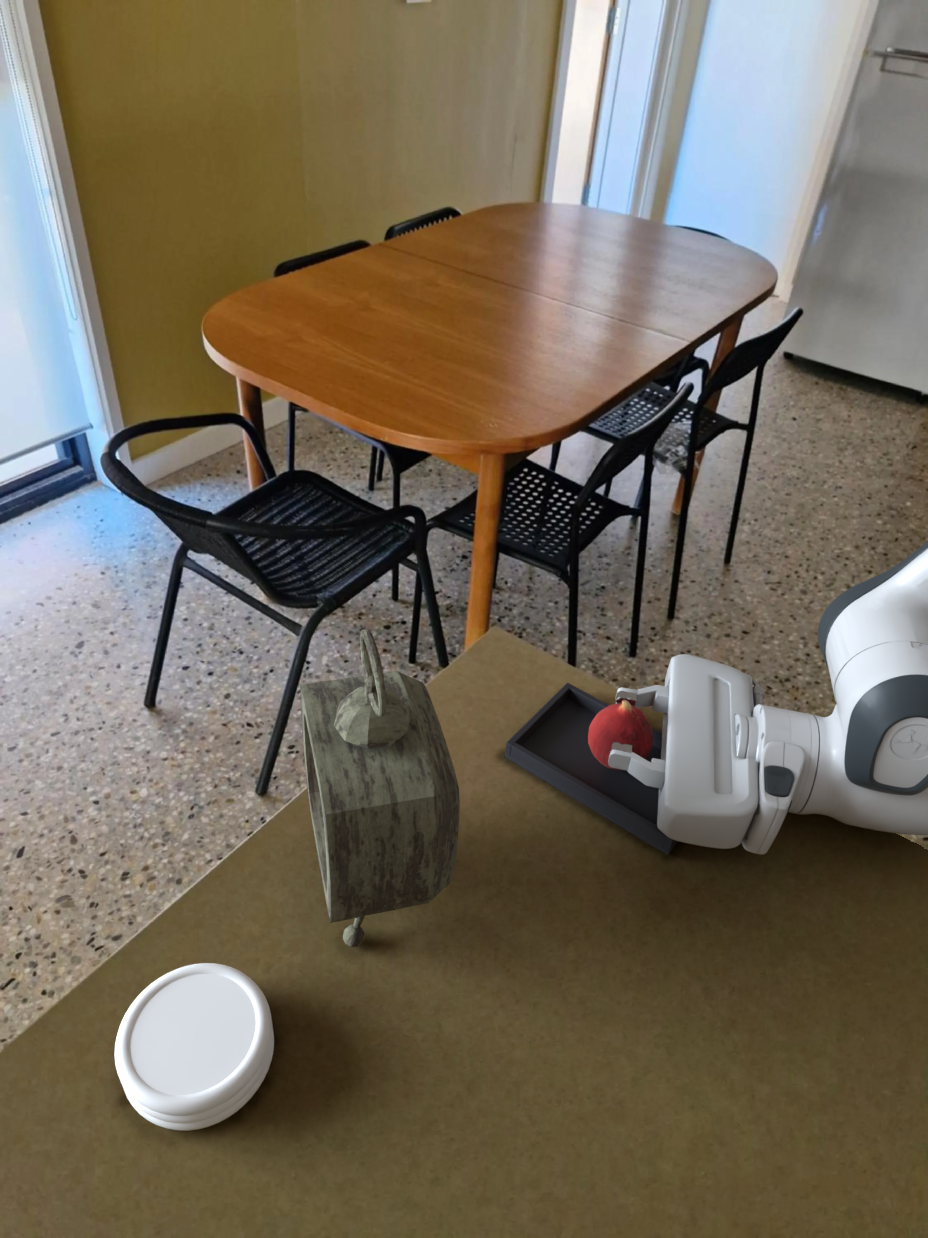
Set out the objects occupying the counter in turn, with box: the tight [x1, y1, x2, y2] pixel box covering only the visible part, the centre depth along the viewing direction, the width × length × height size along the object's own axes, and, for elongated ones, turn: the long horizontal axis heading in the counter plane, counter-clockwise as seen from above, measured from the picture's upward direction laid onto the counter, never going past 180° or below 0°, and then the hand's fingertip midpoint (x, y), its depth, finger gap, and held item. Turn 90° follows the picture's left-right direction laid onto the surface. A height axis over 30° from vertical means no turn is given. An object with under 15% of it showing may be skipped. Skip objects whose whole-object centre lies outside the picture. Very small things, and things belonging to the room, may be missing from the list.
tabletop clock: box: [299, 628, 461, 948], centre depth 65 cm, size 14×9×25 cm, turn 15°
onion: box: [588, 700, 653, 770], centre depth 80 cm, size 6×6×8 cm
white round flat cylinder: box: [113, 962, 275, 1132], centre depth 59 cm, size 10×10×4 cm
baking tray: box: [503, 682, 679, 856], centre depth 83 cm, size 17×11×2 cm, turn 53°
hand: (612, 725), depth 80 cm, fingers closed on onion, 6 cm apart
